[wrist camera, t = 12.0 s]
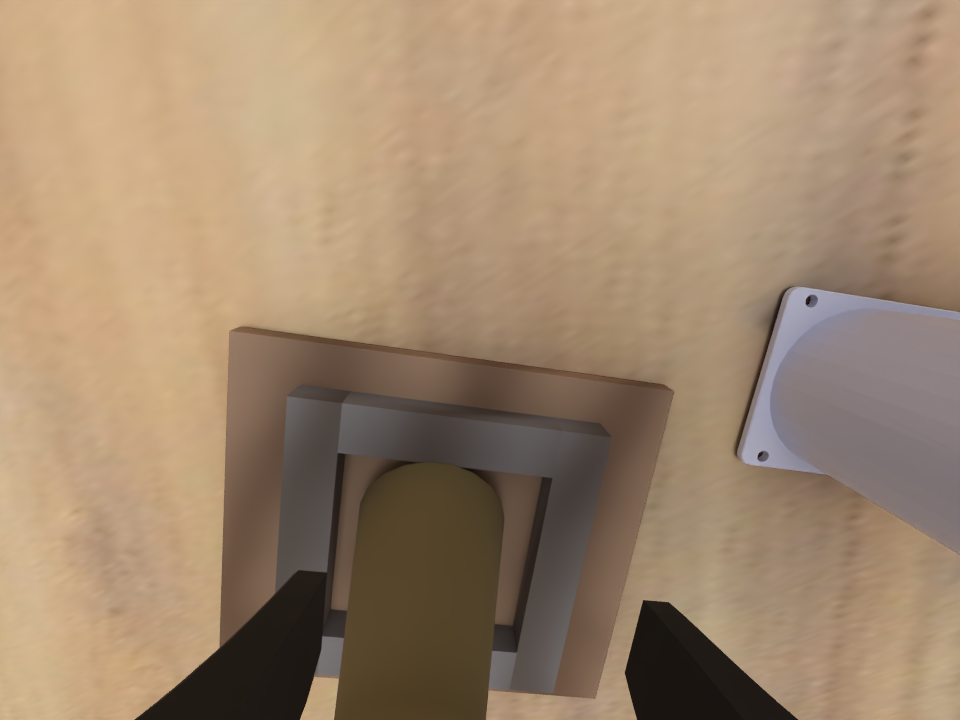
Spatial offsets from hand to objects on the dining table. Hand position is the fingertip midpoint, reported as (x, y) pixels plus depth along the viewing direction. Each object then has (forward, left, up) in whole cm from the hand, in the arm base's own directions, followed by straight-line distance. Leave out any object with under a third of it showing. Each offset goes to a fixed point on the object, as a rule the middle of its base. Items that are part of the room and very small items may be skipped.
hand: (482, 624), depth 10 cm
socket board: (+1, +4, -10) cm, 11 cm away
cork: (+1, +3, -9) cm, 9 cm away
